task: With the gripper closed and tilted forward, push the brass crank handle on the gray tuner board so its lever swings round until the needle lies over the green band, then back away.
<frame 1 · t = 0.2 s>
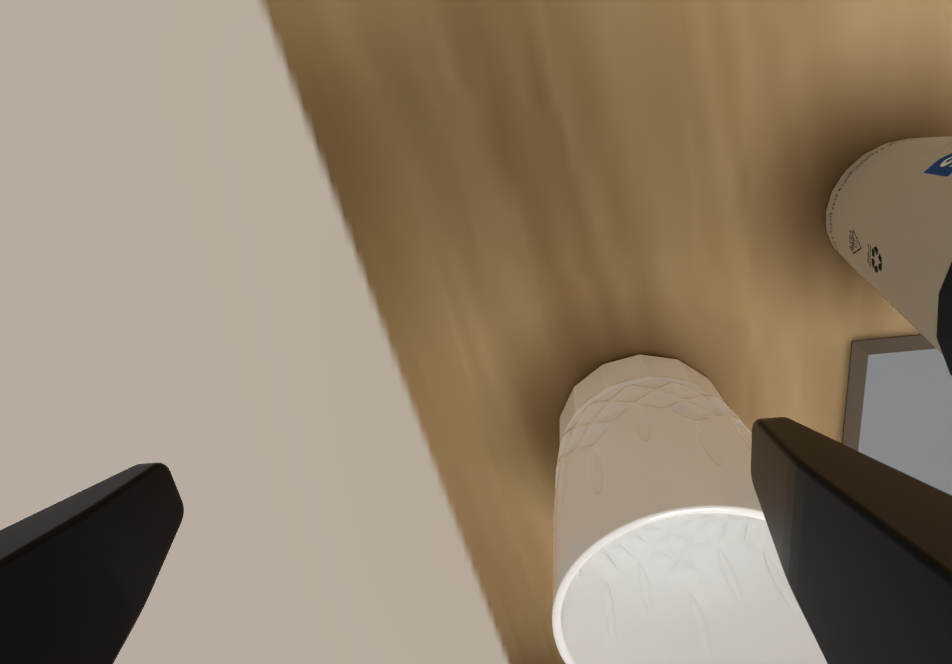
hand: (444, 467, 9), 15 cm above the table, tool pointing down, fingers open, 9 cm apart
white cup: (639, 423, 25), on the table
coffee cup: (892, 205, 21), on the table
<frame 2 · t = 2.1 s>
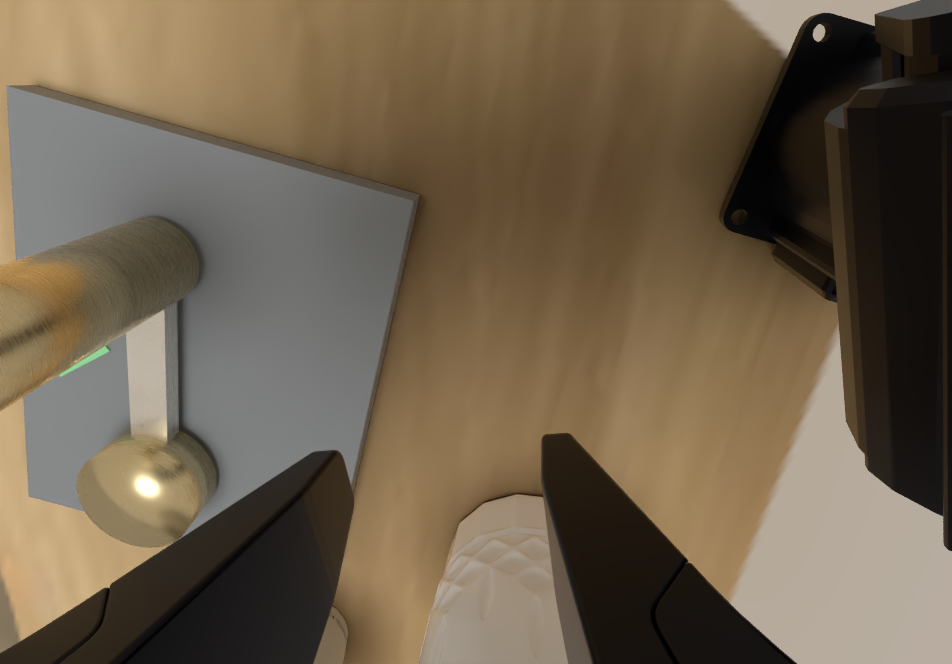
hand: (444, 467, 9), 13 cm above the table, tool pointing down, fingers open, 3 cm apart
white cup: (526, 551, 26), on the table
gray tuner board: (209, 356, 24), on the table
brass crank handle: (23, 488, 16), point 8 cm above the table, hinge at 0.0°
coffee cup: (303, 623, 29), on the table
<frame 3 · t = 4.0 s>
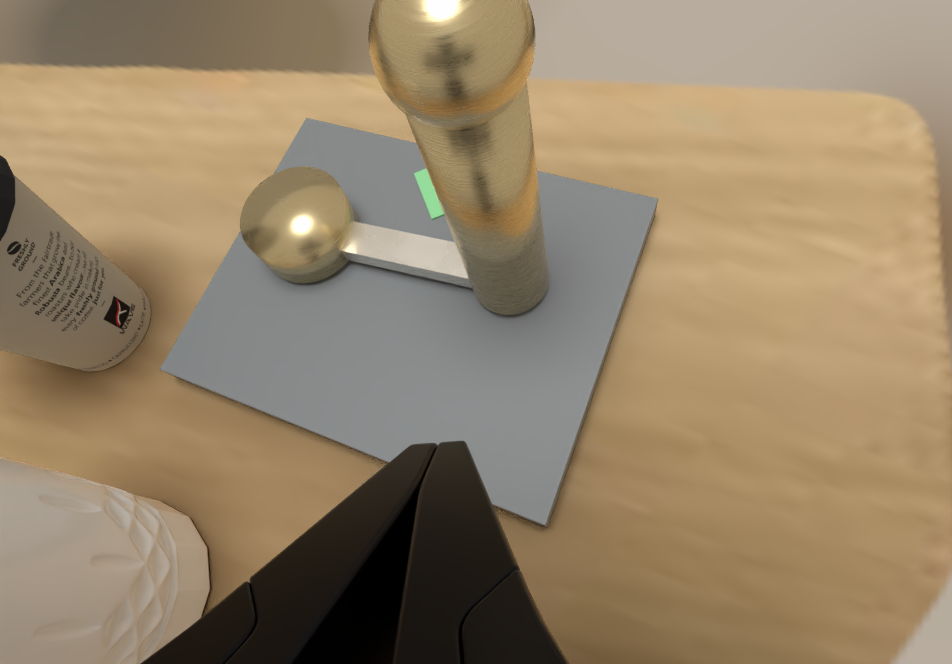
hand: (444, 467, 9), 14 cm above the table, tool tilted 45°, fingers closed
white cup: (134, 591, 23), on the table
gray tuner board: (412, 297, 26), on the table
brass crank handle: (343, 153, 19), point 8 cm above the table, hinge at 0.0°
coffee cup: (108, 326, 28), on the table
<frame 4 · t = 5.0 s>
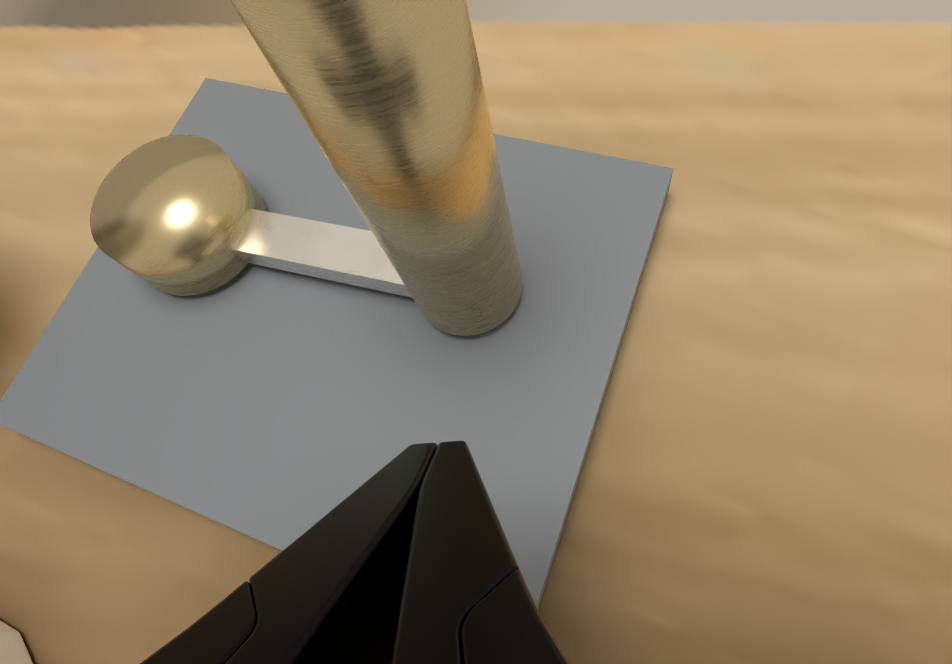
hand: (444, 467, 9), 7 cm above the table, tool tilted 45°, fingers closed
gray tuner board: (339, 312, 19), on the table
brass crank handle: (186, 93, 12), point 8 cm above the table, hinge at 0.0°
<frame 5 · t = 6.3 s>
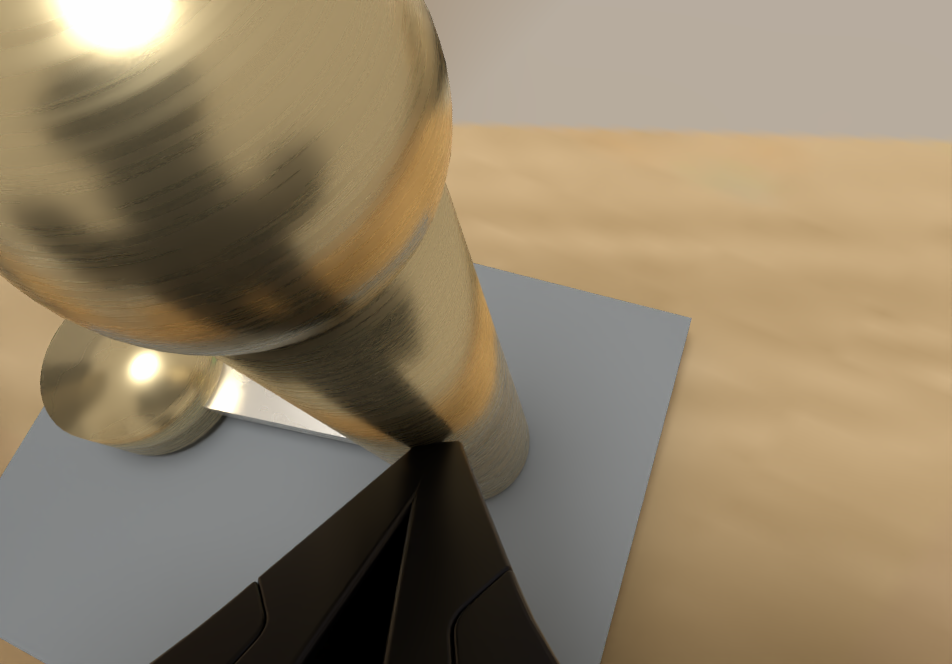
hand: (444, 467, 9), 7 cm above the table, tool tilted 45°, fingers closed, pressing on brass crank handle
gray tuner board: (321, 467, 17), on the table
brass crank handle: (135, 301, 10), point 8 cm above the table, hinge at 3.0°, touching gripper
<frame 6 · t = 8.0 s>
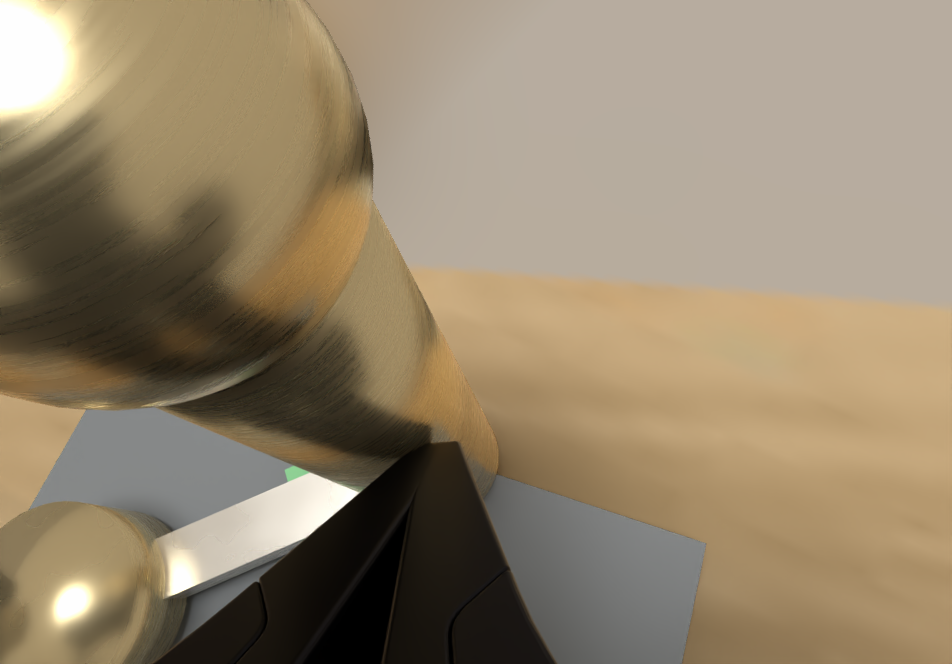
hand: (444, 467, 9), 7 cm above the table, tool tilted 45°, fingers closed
brass crank handle: (54, 499, 9), point 8 cm above the table, hinge at 36.9°, touching gripper
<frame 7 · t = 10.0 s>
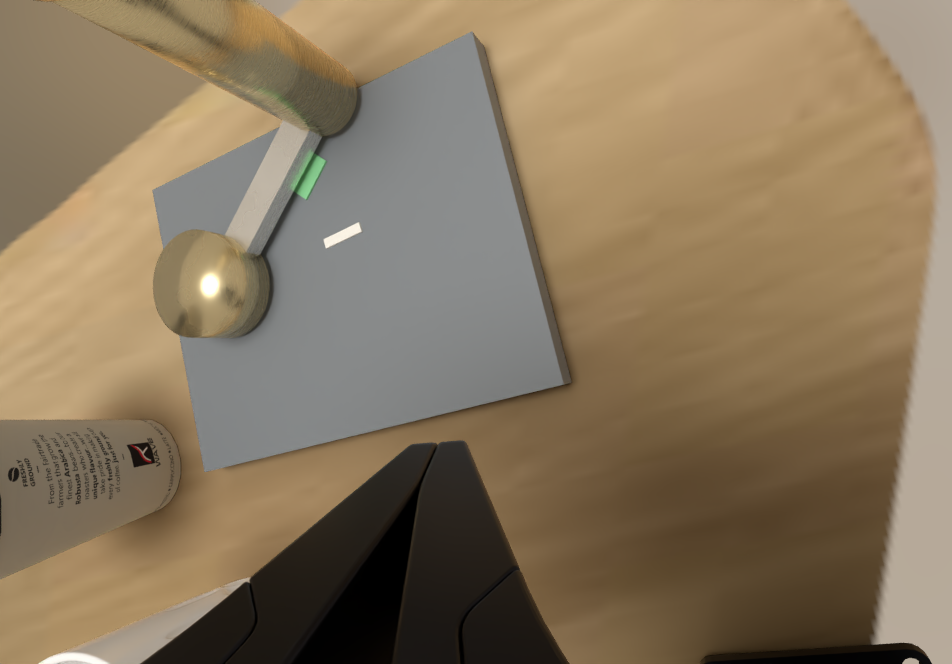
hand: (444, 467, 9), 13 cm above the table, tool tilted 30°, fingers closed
white cup: (314, 634, 26), on the table
gray tuner board: (342, 275, 26), on the table
brass crank handle: (131, 155, 19), point 8 cm above the table, hinge at 36.9°
coffee cup: (150, 464, 30), on the table
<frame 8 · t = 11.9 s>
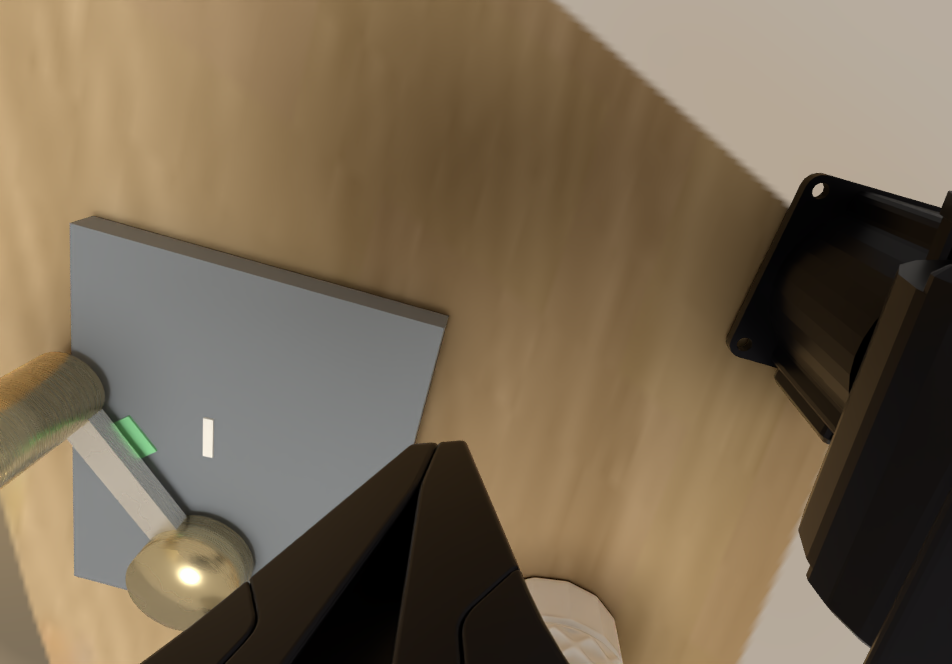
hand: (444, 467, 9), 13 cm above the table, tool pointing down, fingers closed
white cup: (542, 626, 28), on the table
gray tuner board: (247, 451, 25), on the table
brass crank handle: (13, 611, 18), point 8 cm above the table, hinge at 36.9°
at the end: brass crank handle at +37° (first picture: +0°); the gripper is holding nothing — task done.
